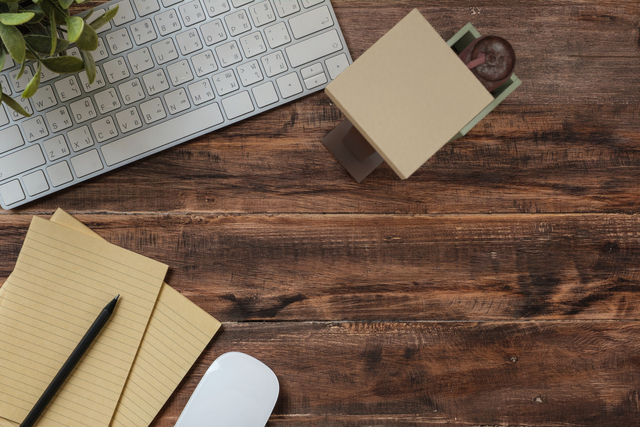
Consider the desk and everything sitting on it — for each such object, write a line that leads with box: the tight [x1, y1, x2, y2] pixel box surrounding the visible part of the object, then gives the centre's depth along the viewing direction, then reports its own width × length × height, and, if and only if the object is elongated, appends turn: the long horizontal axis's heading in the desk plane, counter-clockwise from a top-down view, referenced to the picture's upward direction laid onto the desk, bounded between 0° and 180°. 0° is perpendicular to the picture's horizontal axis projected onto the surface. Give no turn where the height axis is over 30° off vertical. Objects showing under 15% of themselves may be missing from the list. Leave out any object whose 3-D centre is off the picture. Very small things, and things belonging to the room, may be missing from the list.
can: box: [457, 34, 517, 93], centre depth 62 cm, size 6×6×14 cm
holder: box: [445, 21, 523, 143], centre depth 66 cm, size 11×11×6 cm
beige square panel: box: [323, 7, 494, 181], centre depth 40 cm, size 10×10×2 cm
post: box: [319, 116, 385, 185], centre depth 54 cm, size 8×8×27 cm
